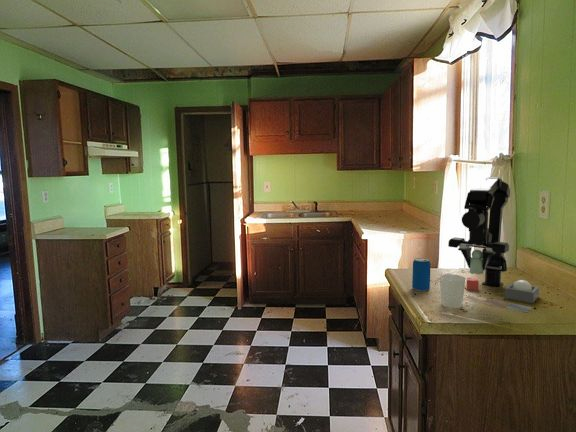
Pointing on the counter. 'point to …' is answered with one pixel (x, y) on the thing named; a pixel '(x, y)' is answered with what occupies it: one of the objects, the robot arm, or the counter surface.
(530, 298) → the grey square tray
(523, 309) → the game track
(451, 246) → the robot arm
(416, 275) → the beverage can
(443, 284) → the white cup
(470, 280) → the red die
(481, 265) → the pawn
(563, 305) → the counter surface
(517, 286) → the dome
